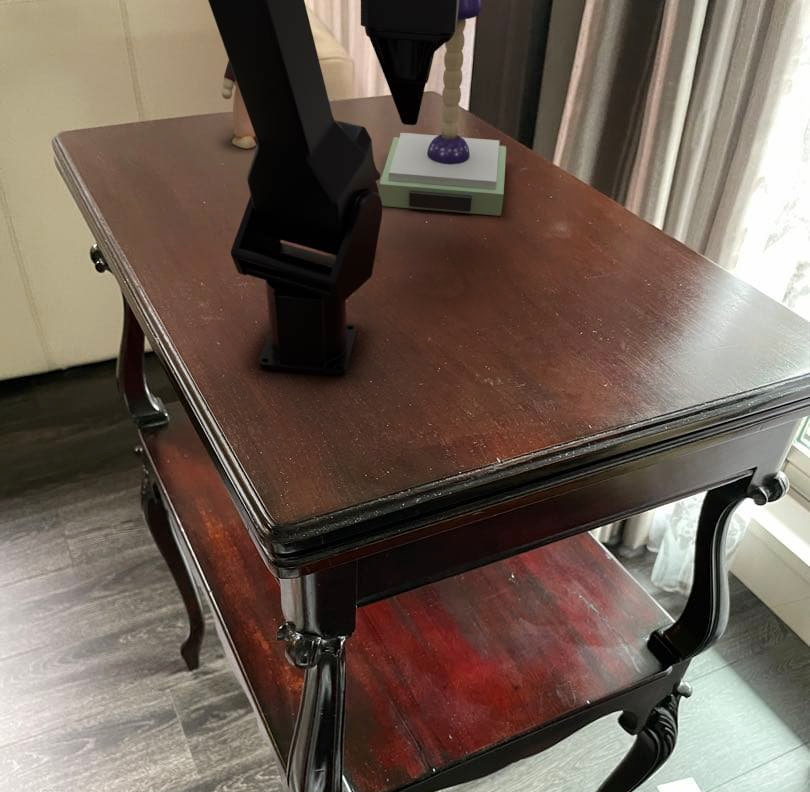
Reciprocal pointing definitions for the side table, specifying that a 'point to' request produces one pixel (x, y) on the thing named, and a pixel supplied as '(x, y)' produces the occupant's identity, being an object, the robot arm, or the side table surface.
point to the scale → (444, 177)
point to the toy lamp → (453, 93)
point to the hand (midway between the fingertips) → (415, 102)
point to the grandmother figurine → (238, 112)
